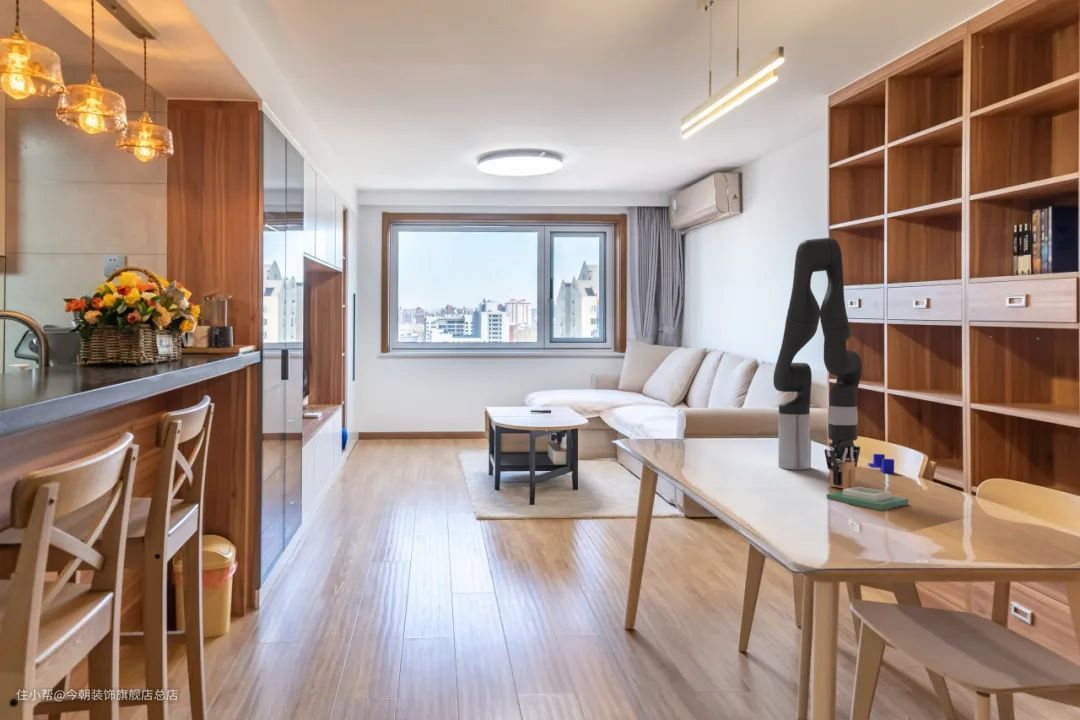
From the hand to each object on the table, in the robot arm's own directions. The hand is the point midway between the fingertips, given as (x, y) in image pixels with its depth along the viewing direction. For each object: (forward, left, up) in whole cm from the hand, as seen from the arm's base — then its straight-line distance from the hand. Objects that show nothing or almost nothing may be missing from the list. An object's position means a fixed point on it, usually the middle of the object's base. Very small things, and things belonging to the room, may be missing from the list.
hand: (842, 483), depth 199 cm
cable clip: (-34, -9, -2) cm, 35 cm away
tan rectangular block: (0, 0, -1) cm, 1 cm away
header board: (+9, +13, -2) cm, 15 cm away
